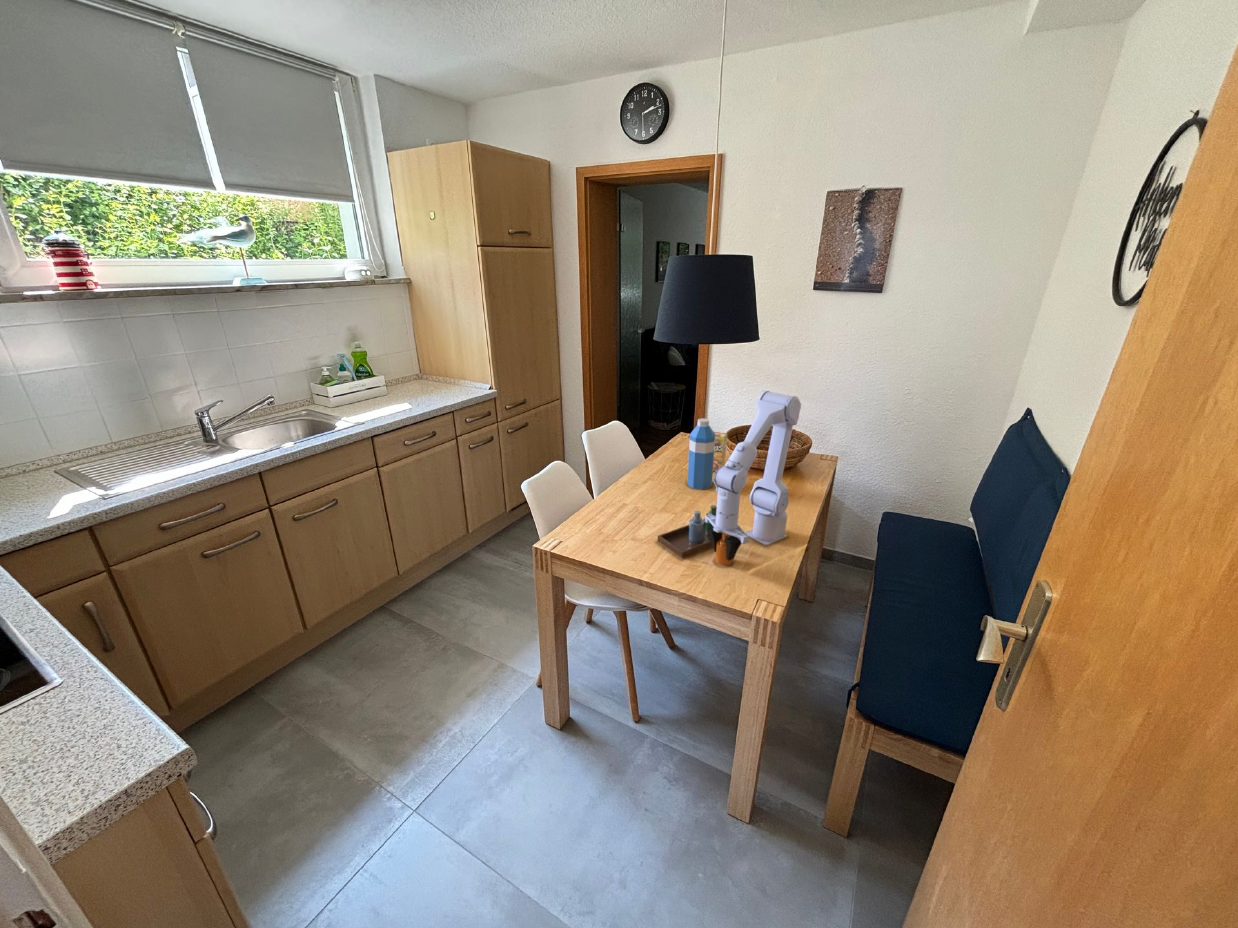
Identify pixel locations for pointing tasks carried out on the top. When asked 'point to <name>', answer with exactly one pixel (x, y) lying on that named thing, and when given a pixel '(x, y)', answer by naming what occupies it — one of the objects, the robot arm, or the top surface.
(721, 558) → the amber bottle
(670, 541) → the tray
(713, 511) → the green bottle
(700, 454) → the water bottle
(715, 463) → the candy box
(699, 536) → the blue-grey bottle
